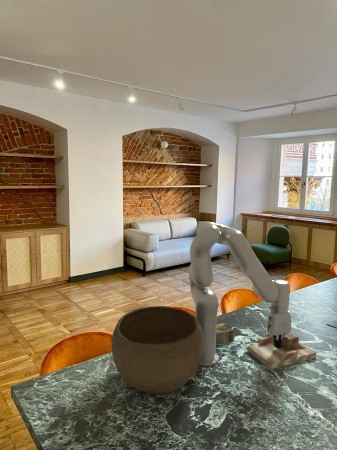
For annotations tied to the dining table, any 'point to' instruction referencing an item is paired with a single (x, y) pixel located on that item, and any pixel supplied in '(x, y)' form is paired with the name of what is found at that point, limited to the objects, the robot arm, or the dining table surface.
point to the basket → (157, 348)
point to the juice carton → (224, 333)
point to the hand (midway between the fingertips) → (277, 347)
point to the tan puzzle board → (279, 353)
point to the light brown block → (290, 342)
